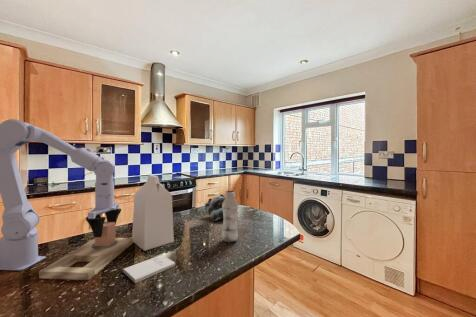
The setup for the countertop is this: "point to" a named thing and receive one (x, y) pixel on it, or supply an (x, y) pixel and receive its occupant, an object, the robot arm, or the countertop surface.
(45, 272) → the pocket board
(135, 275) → the external hard drive
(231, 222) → the plastic bottle
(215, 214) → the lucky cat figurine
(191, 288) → the countertop surface
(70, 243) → the countertop surface
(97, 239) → the terracotta block
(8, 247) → the robot arm
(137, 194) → the milk
